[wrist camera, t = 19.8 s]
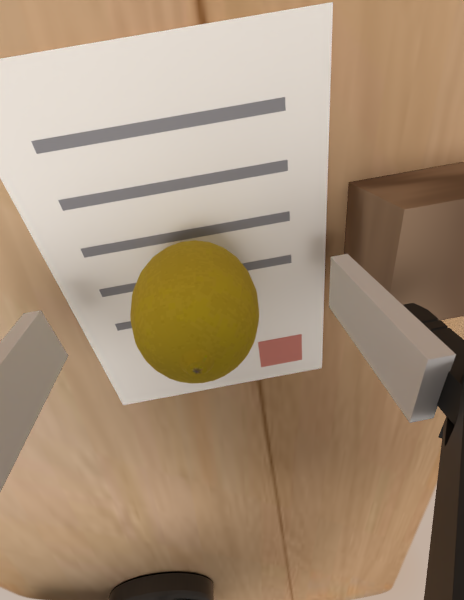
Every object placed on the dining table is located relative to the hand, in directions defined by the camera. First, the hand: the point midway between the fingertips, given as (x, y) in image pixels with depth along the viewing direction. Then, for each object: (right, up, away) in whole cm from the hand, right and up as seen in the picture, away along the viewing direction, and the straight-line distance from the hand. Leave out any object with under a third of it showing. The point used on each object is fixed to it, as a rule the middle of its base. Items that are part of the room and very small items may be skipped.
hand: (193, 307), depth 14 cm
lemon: (0, +2, +3) cm, 4 cm away
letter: (0, +2, +3) cm, 4 cm away
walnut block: (+11, +5, +3) cm, 13 cm away
